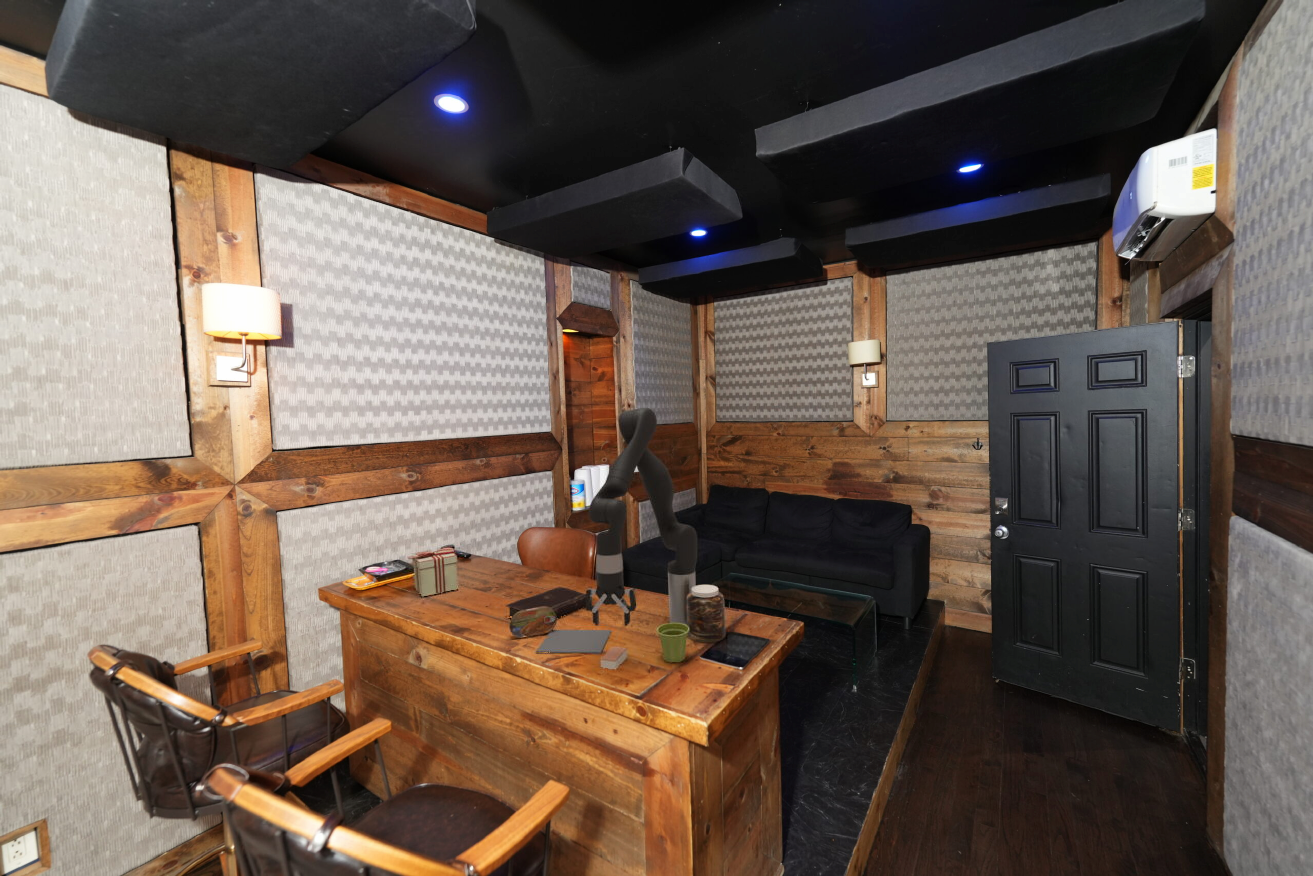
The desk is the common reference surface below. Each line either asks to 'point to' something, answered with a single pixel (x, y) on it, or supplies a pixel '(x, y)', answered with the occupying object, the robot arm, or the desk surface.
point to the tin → (533, 621)
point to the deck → (614, 657)
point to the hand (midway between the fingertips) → (611, 624)
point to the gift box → (435, 571)
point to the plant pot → (673, 641)
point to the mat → (575, 641)
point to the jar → (706, 614)
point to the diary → (552, 601)
